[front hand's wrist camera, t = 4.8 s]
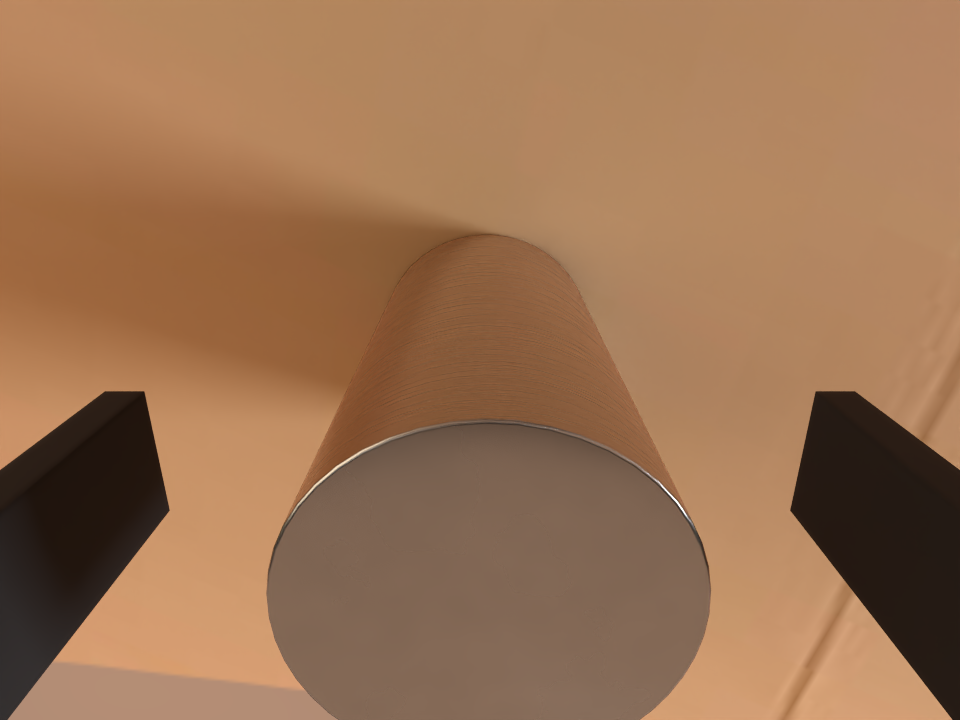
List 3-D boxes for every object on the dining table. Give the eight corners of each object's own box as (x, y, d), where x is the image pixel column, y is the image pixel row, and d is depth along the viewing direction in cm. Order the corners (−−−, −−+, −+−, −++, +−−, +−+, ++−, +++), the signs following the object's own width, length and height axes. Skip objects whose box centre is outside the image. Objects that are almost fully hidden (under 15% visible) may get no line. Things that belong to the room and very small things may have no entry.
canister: (554, 442, 19) (626, 796, 10) (368, 401, 19) (243, 729, 9) (614, 263, 17) (787, 480, 7) (407, 211, 17) (297, 370, 7)
